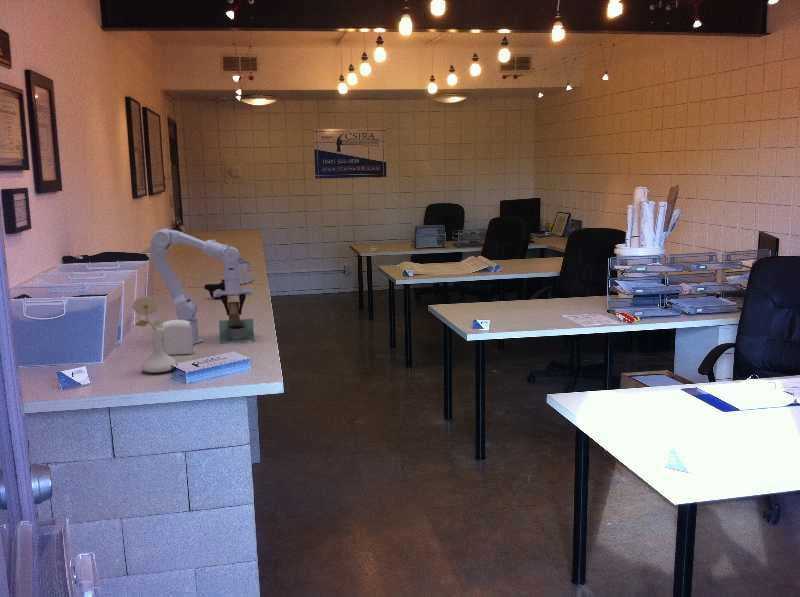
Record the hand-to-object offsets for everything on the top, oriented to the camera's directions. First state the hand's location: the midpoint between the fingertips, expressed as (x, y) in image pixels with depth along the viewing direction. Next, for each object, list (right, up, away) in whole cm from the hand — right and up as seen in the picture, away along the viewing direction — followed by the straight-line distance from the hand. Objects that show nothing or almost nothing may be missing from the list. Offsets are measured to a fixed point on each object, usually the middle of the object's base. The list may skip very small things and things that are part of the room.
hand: (234, 314), depth 278 cm
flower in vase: (-17, -18, -39) cm, 46 cm away
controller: (-29, +5, +91) cm, 96 cm away
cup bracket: (0, -10, +3) cm, 10 cm away
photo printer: (-16, -14, -17) cm, 27 cm away
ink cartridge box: (-27, +15, +142) cm, 145 cm away
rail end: (0, -3, 0) cm, 3 cm away
